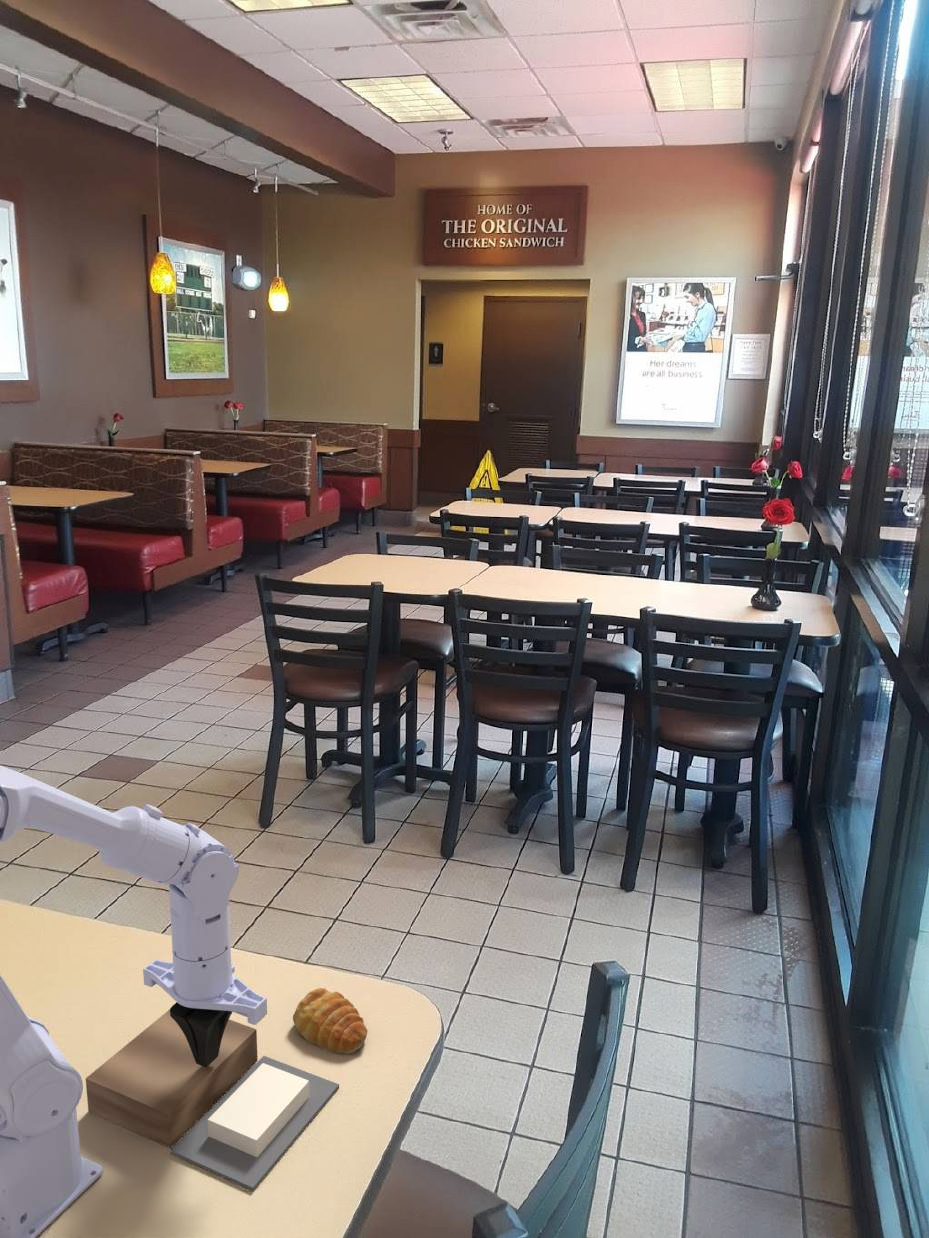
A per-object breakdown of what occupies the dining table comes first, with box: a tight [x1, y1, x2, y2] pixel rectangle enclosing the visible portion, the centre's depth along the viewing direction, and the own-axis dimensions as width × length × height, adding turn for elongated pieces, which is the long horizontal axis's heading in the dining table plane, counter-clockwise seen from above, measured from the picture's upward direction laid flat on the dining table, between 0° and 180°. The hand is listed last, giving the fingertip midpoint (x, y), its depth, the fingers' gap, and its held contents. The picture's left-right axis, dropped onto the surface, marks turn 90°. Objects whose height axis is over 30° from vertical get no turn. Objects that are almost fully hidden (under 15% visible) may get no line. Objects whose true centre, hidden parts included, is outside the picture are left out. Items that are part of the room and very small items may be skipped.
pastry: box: [292, 987, 369, 1055], centre depth 109 cm, size 9×7×4 cm
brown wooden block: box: [85, 1008, 259, 1149], centre depth 100 cm, size 14×11×4 cm
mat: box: [170, 1055, 340, 1192], centre depth 96 cm, size 15×10×1 cm, turn 155°
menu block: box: [208, 1063, 310, 1157], centre depth 96 cm, size 9×6×2 cm, turn 155°
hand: (207, 1059), depth 97 cm, fingers closed
